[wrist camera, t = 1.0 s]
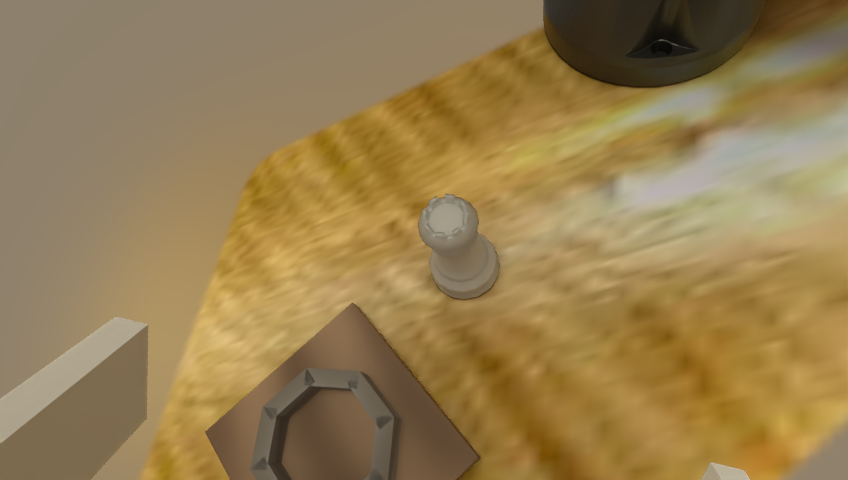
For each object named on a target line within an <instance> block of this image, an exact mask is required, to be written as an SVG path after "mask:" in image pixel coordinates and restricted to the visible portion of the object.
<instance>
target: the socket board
mask: <svg viewBox="0 0 848 480" xmlns="http://www.w3.org/2000/svg"><path fill="white" fill-rule="evenodd" d="M205 433H206V435H207V437H208V439H209V440H210V442H211V444H212V446H213V448H214V450H215V452H216V454H217V455H218V457H219V459H220V461H221V463H222V465H223V467H224V469H225V470H226V472H227V474H228V476H229V478H230V480H458V479H459V478H460V477H461V476H462V475H463V474H464V473H465V472H466V471H467V470H468V469H469V468H470V467H471V466H472V465H474V464H475V463H476V462H477V461H478V460H479V459H480V458H481V457H480V456H479V455H478V454H477V453H476V451H475V450H474V449H473V448H472V446H471V445H470V444H469V443H468V441H467V440H466V439H465V438H464V437H463V435H462V434H461V433H460V432H459V430H458V429H457V428H456V427H455V425H454V424H453V423H452V422H451V420H450V419H449V418H448V417H447V416H446V414H445V413H444V412H443V411H442V409H441V408H440V407H439V406H438V404H437V403H436V402H435V401H434V400H433V398H432V397H431V396H430V395H429V393H428V392H427V391H426V390H425V388H424V387H423V386H422V385H421V384H420V382H419V381H418V380H417V379H416V377H415V376H414V375H413V374H412V372H411V371H410V370H409V369H408V367H407V366H406V365H405V364H404V363H403V361H402V360H401V359H400V358H399V356H398V355H397V354H396V353H395V351H394V350H393V349H392V348H391V347H390V345H389V344H388V343H387V342H386V340H385V339H384V338H383V337H382V335H381V334H380V333H379V332H378V331H377V329H376V328H375V327H374V326H373V324H372V323H371V322H370V321H369V319H368V318H367V317H366V316H365V314H364V313H363V312H362V311H361V310H360V308H359V307H358V306H356V305H355V304H354V303H352V304H350V305H349V306H348V307H347V308H346V309H345V310H344V311H342V312H341V313H340V314H339V315H338V316H337V317H336V318H334V319H333V320H332V321H331V322H330V323H329V324H328V325H326V326H325V327H324V328H323V329H322V330H321V331H320V332H318V333H317V334H316V335H315V336H314V337H313V338H312V339H310V340H309V341H308V342H307V343H306V344H305V345H304V346H302V347H301V348H300V349H299V350H298V351H297V352H296V353H294V354H293V355H292V356H291V357H290V358H289V359H288V360H286V361H285V362H284V363H283V364H282V365H281V366H280V367H278V368H277V369H276V370H275V371H274V372H273V373H272V374H270V375H269V376H268V377H267V378H266V379H265V380H264V381H262V382H261V383H260V384H259V385H258V386H257V387H256V388H255V389H253V390H252V391H251V392H250V393H249V394H248V395H247V396H245V397H244V398H243V399H242V400H241V401H240V402H239V403H237V404H236V405H235V406H234V407H233V408H232V409H231V410H229V411H228V412H227V413H226V414H225V415H224V416H223V417H221V418H220V419H219V420H218V421H217V422H216V423H215V424H213V425H212V426H211V427H210V428H209V429H208V430H207V431H205Z"/></svg>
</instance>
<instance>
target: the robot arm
mask: <svg viewBox="0 0 848 480" xmlns="http://www.w3.org/2000/svg"><path fill="white" fill-rule="evenodd" d="M766 1H767V0H544V7H543V8H544V9H543V10H544V11H543V14H544V15H543V17H544V18H543V21H544V27H545V32H546V35H547V37H548V39H549V41H550V43H551V45H552V47H553V48H554V49H555V51H556V52H557V53H558V54H559V55H560V56H561V57H562V58H563V59H564V60H565V61H566V62H567V63H569V64H570V65H571V66H573V67H574V68H576V69H577V70H579V71H581V72H583V73H585V74H587V75H589V76H591V77H594V78H597V79H600V80H603V81H606V82H610V83H615V84H621V85H628V86H660V85H667V84H673V83H678V82H682V81H686V80H689V79H692V78H695V77H698V76H700V75H703V74H705V73H707V72H709V71H711V70H713V69H715V68H717V67H718V66H720V65H722V64H723V63H725V62H726V61H727V60H729V59H730V58H731V57H732V56H734V55H735V54H736V53H737V52H738V51H739V50H740V49H741V48H742V46H743V45H744V44H745V43H746V41H747V40H748V38H749V37H750V35H751V33H752V31H753V29H754V27H755V25H756V23H757V21H758V19H759V17H760V15H761V13H762V11H763V9H764V7H765V4H766ZM147 365H148V324H145V323H140V322H136V321H132V320H128V319H124V318H120V317H115V318H113V319H112V320H110V321H109V322H108V323H106V324H105V325H103V326H102V327H100V328H99V329H98V330H96V331H95V332H93V333H92V334H91V335H89V336H88V337H86V338H85V339H84V340H82V341H81V342H79V343H78V344H77V345H75V346H74V347H72V348H71V349H70V350H68V351H67V352H65V353H64V354H63V355H61V356H60V357H58V358H57V359H56V360H54V361H53V362H51V363H50V364H48V365H47V366H46V367H44V368H43V369H42V370H40V371H39V372H38V373H36V374H34V376H32V377H30V378H29V379H27V380H26V381H25V382H23V383H22V384H20V385H19V386H18V387H16V388H15V389H13V390H12V391H11V392H9V393H8V394H6V395H5V396H4V397H2V398H1V399H0V480H91V479H92V477H93V476H94V475H95V474H96V473H97V472H98V471H99V470H100V469H101V468H102V466H104V465H105V463H106V462H107V461H108V460H109V459H110V458H111V457H112V456H113V455H114V453H116V451H117V450H118V449H119V448H120V447H121V446H122V445H123V444H124V443H125V442H126V440H127V439H128V438H129V437H130V436H131V435H132V434H133V433H134V432H135V431H136V430H137V429H138V427H139V426H140V425H141V424H142V423H143V422H144V421H145V420H146V419H147ZM701 480H750V478H749V477H748V475H747V474H746V472H745V470H741V469H737V468H733V467H729V466H725V465H721V464H717V463H713V462H711V463H710V465H709V466H708V468H707V470H706V472H705V473H704V475H703V477H702V479H701Z"/></svg>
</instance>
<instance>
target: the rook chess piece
mask: <svg viewBox="0 0 848 480" xmlns="http://www.w3.org/2000/svg"><path fill="white" fill-rule="evenodd" d="M429 203H430V204H429V205H427V207H426V208H425V209H423V211H422V213H421V215H420V219H419V223H418V228H419V234H420V237H421V238H422V240H423V241H424V243H425V244H426V245H427V246H429V247H431V248H432V249H433V250H432V255H431V259H430V267H431V273H432V276H433V280H434V281H435V283H436V284H437V286H438V287H439V289H440V290H441V291H443V292H444V293H446V294H448V295H449V296H451V297H455V298H460V299H468V298H473V297H477V296H479V295H481V294H482V293H484V292H485V291H487V290H488V289H490V287H491V286H492V284H493V283H494V281H495V280H496V278H497V276H498V270H499V260H498V256H497V252H496V251H495V248H494V247H493V245H492V244H491V243H490V241H489V240H488V239H487V238H486V237H485V236H483V235H481V234H479V233H478V232H477V229H478V224H479V219H478V215H477V211H476V210H475V208H474V207H473V206H472V205H471V203H470V202H468V201H466V200H464V199H462V198H460V197H455V195H452V194H445V197H443V198H439V199H437V196H436V197H434V198H433V199H431V200H430V201H429Z"/></svg>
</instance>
